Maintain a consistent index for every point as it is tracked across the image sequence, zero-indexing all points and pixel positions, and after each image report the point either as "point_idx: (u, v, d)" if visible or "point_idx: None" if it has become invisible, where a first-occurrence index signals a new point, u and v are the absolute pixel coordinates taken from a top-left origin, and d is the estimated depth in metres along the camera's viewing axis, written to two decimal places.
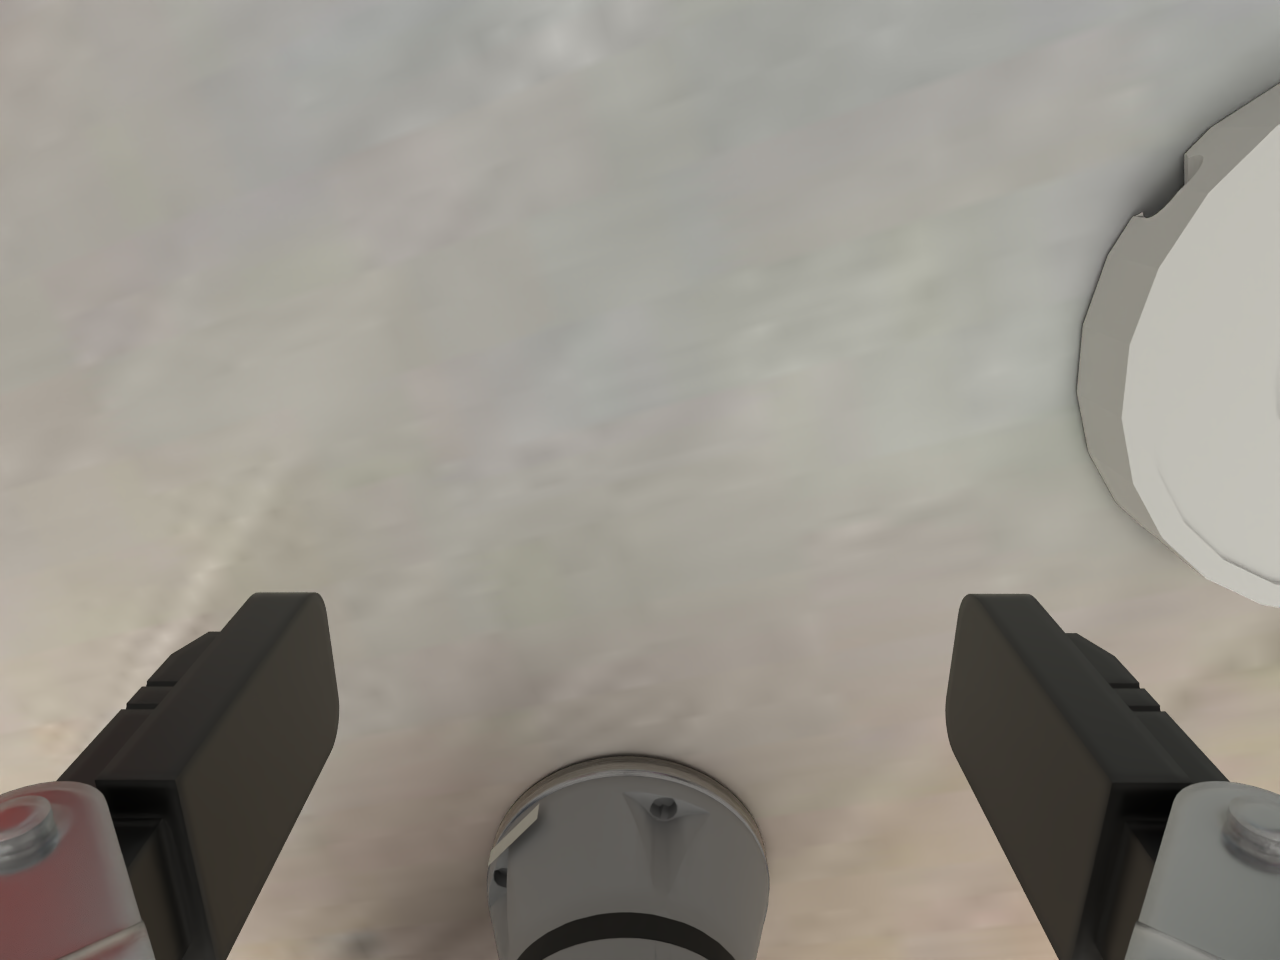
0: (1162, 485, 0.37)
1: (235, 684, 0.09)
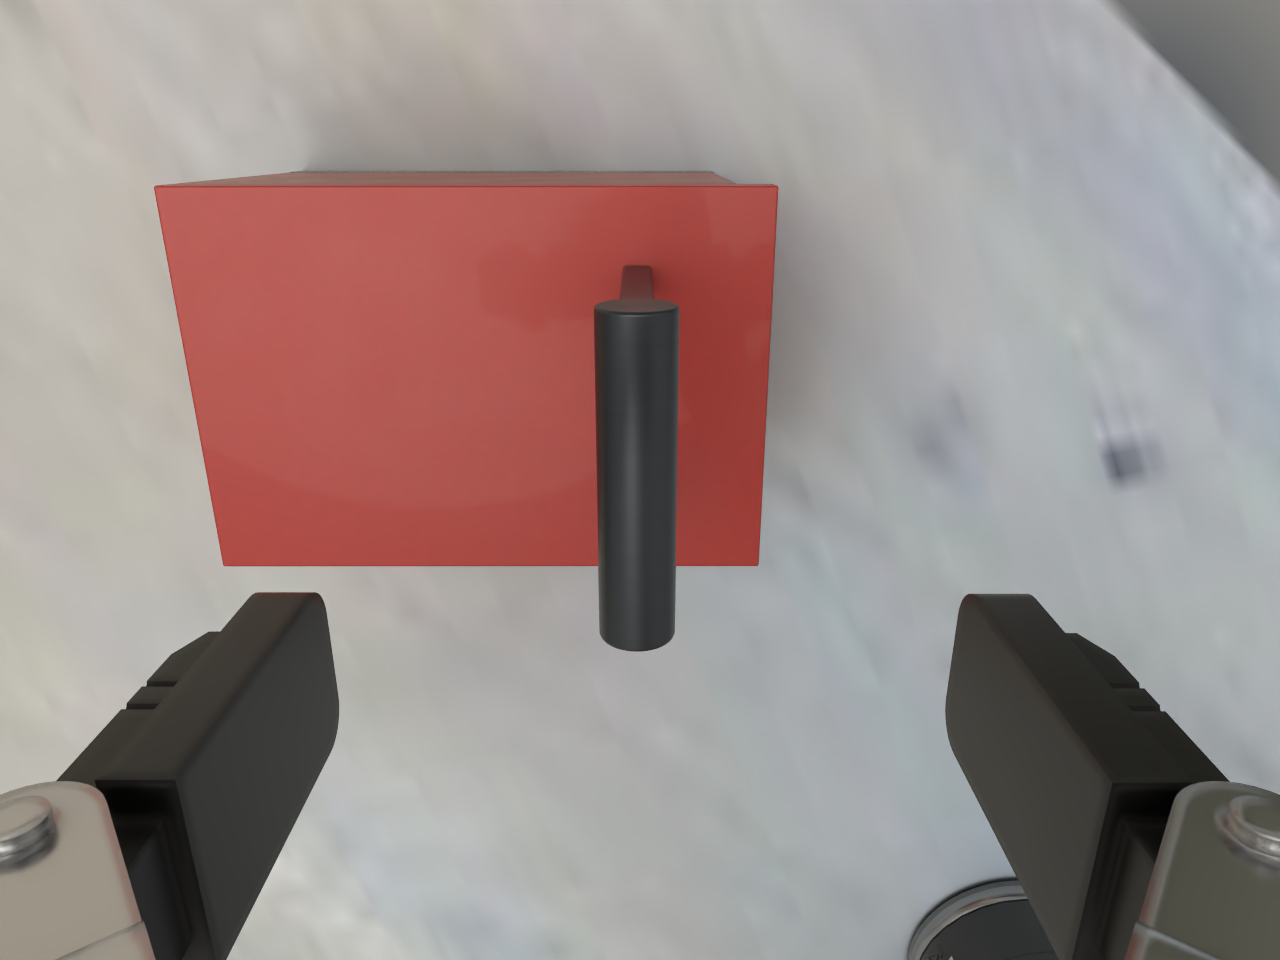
0: None
1: (235, 684, 0.09)
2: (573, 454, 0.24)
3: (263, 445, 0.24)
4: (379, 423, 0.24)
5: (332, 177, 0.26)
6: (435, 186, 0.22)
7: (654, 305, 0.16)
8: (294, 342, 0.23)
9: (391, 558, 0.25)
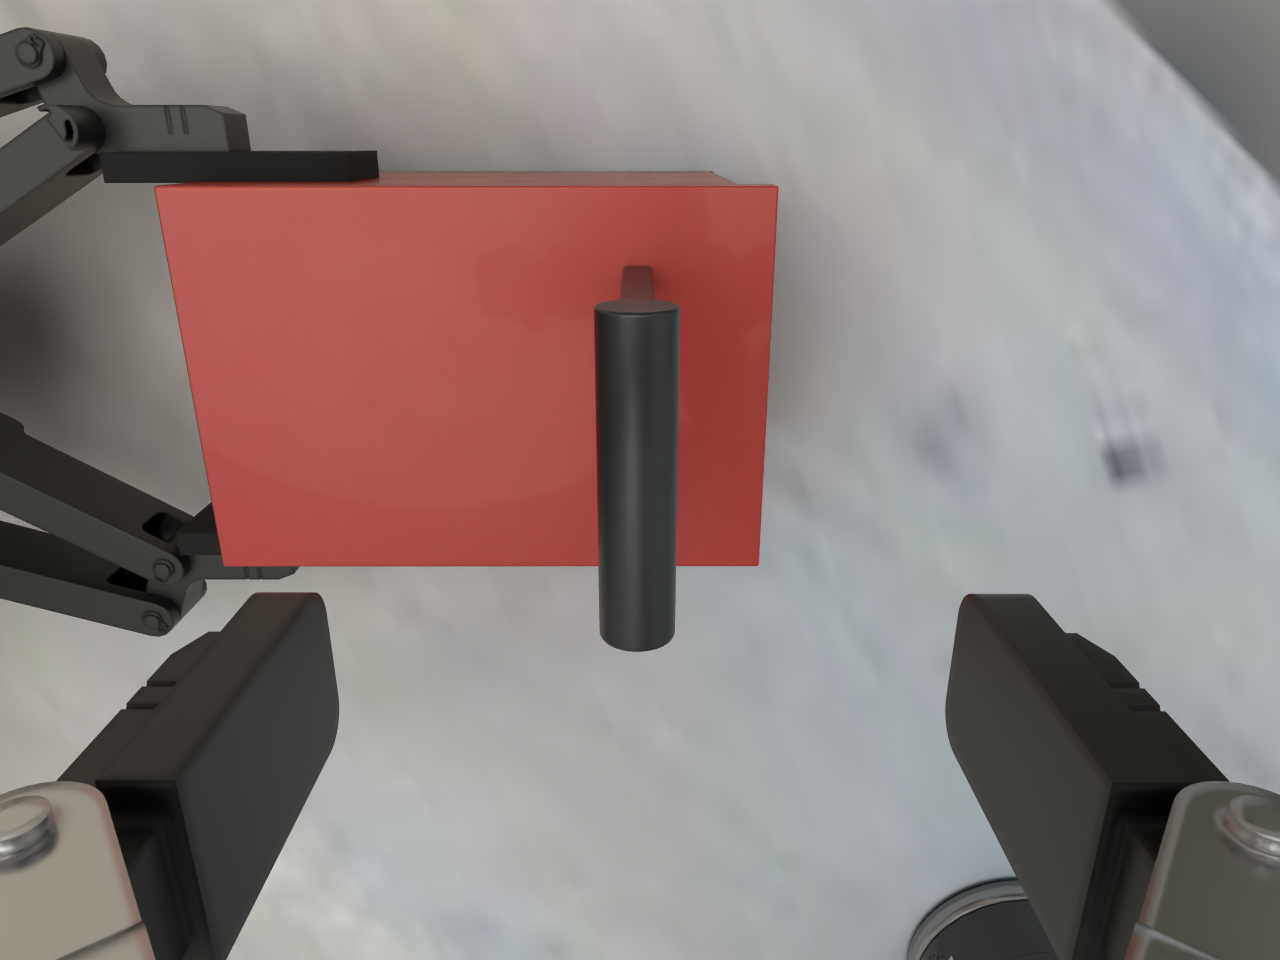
0: None
1: (235, 684, 0.09)
2: (573, 454, 0.24)
3: (263, 445, 0.24)
4: (380, 422, 0.24)
5: None
6: (435, 186, 0.22)
7: (654, 305, 0.16)
8: (294, 342, 0.23)
9: (391, 558, 0.25)
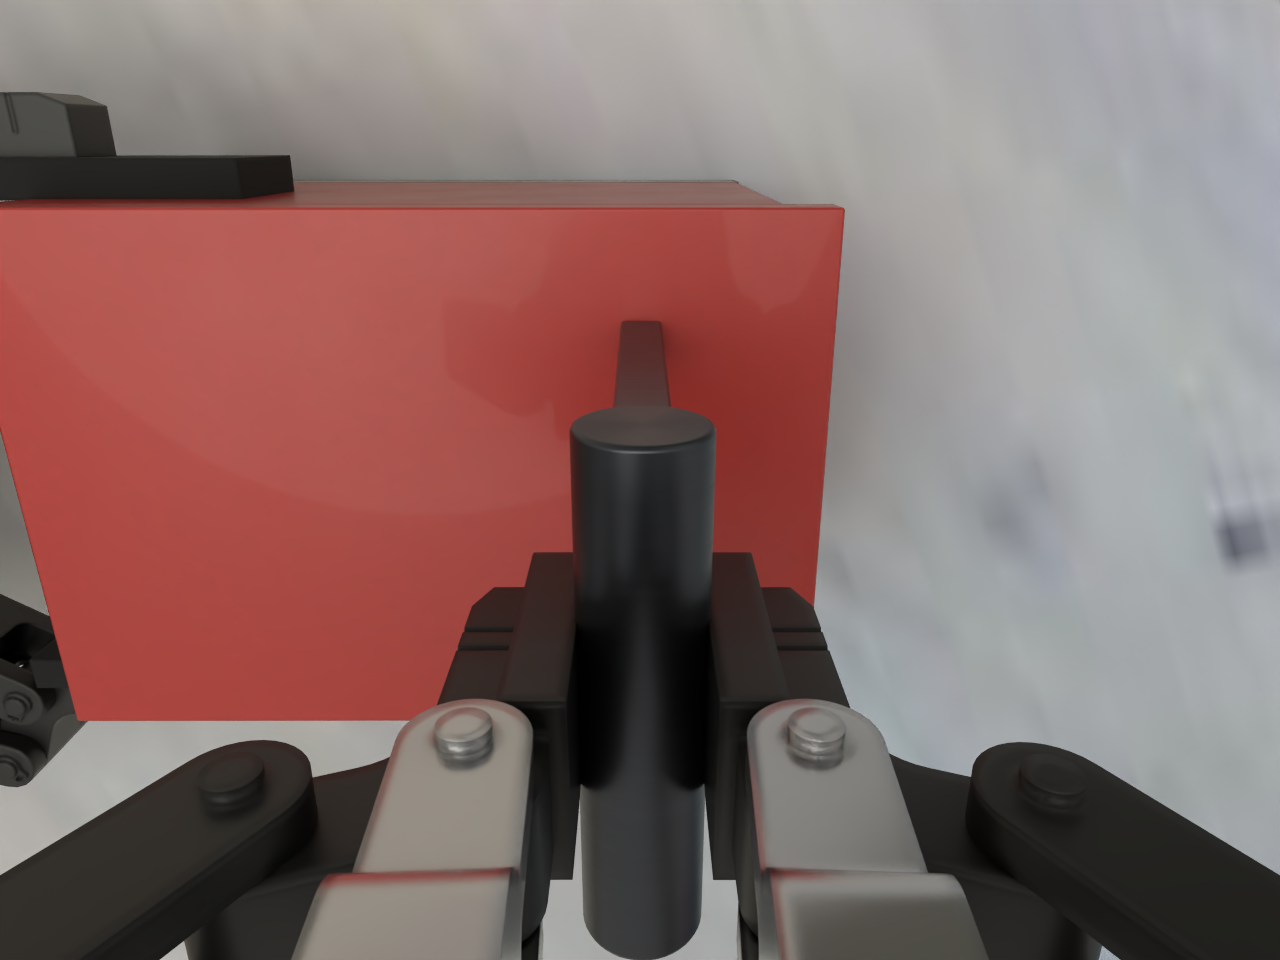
0: None
1: (567, 626, 0.10)
2: None
3: (122, 564, 0.17)
4: (282, 535, 0.17)
5: None
6: (349, 208, 0.15)
7: (673, 425, 0.09)
8: (156, 426, 0.16)
9: (305, 710, 0.18)
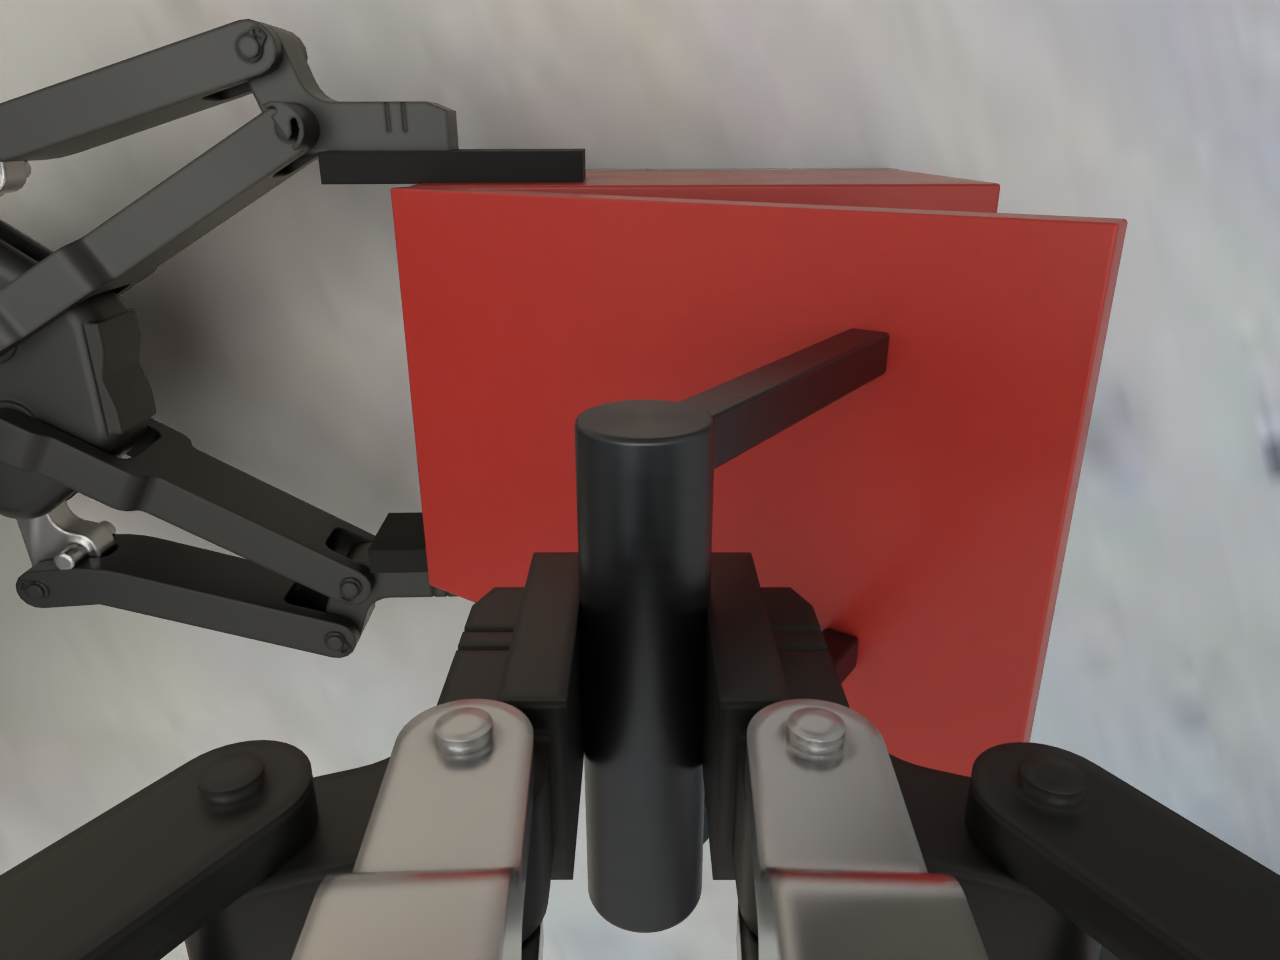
0: None
1: (568, 626, 0.10)
2: (763, 570, 0.17)
3: (463, 473, 0.22)
4: (562, 475, 0.20)
5: None
6: (632, 200, 0.17)
7: (666, 423, 0.10)
8: (492, 368, 0.20)
9: None
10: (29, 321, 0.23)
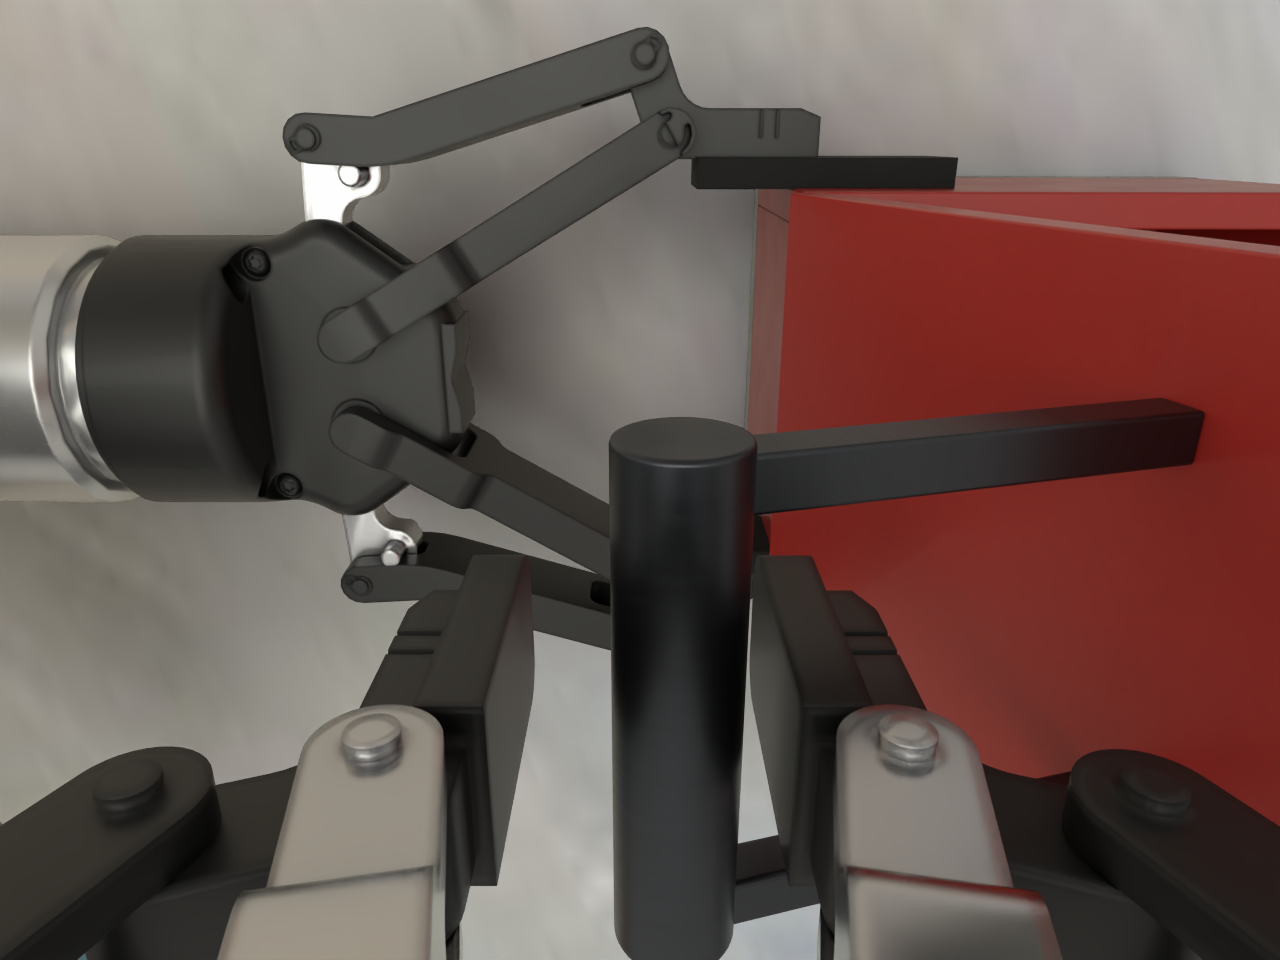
0: None
1: (496, 630, 0.10)
2: (1028, 673, 0.14)
3: None
4: (872, 506, 0.19)
5: None
6: (968, 216, 0.15)
7: (688, 446, 0.09)
8: (835, 382, 0.20)
9: None
10: (399, 321, 0.23)
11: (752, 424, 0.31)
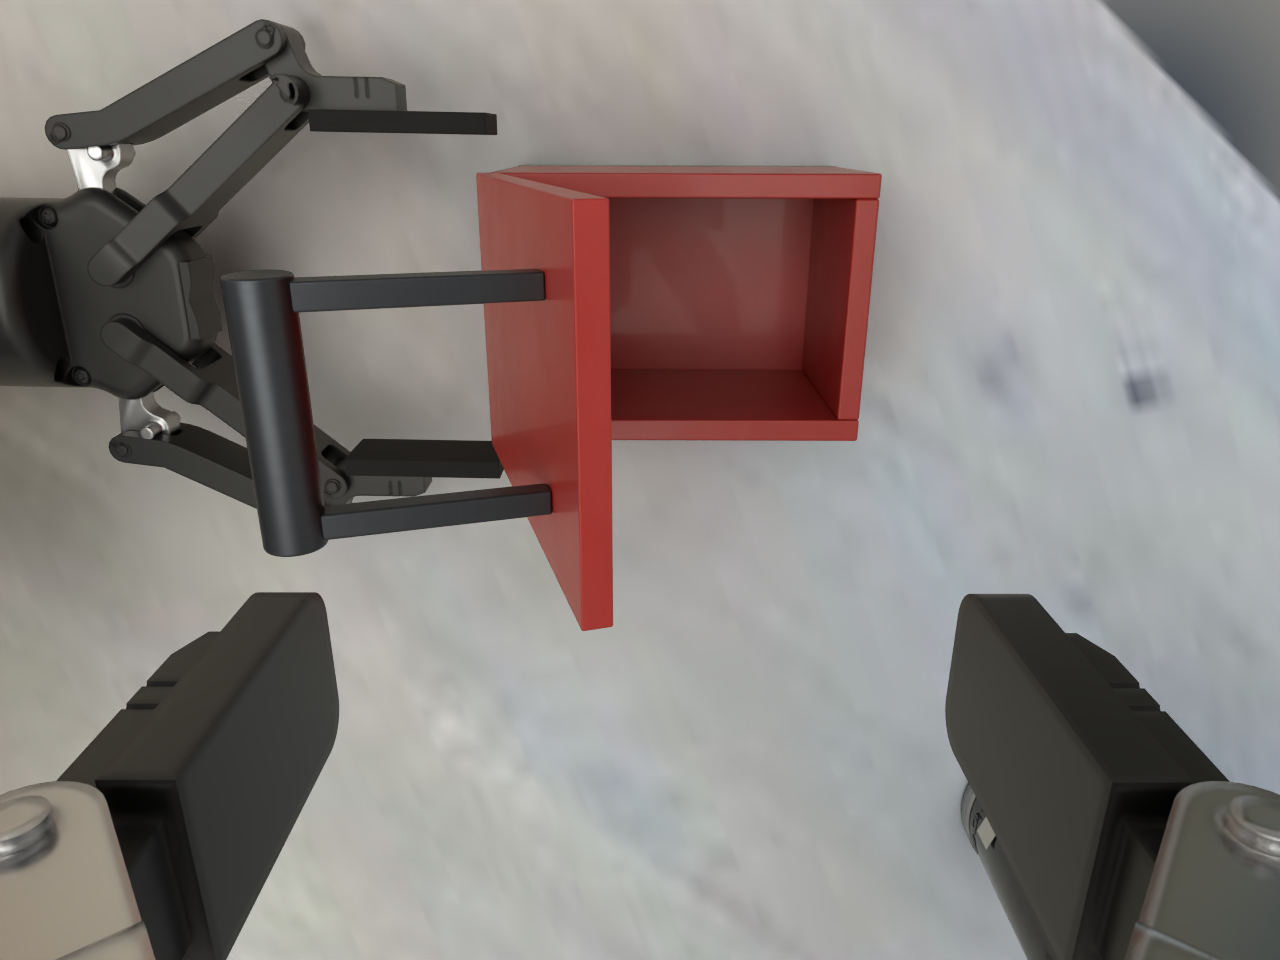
0: None
1: (235, 684, 0.09)
2: (536, 440, 0.25)
3: (493, 365, 0.33)
4: (506, 368, 0.30)
5: None
6: (508, 181, 0.26)
7: (253, 276, 0.20)
8: None
9: (511, 479, 0.31)
10: (141, 251, 0.34)
11: None
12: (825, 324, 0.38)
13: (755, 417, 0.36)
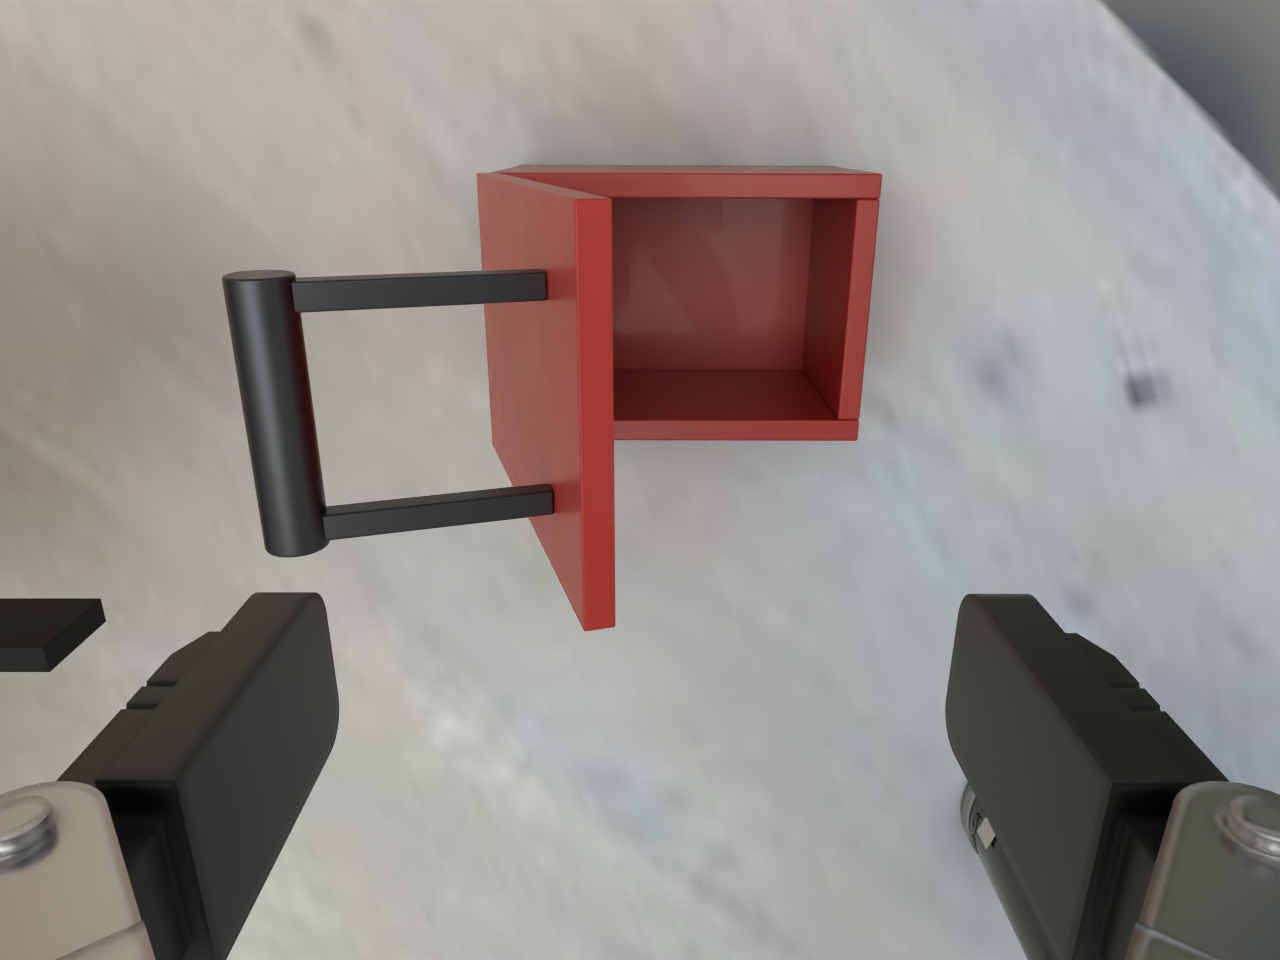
0: None
1: (235, 684, 0.09)
2: (538, 440, 0.25)
3: (493, 365, 0.33)
4: (507, 369, 0.29)
5: None
6: (509, 182, 0.26)
7: (255, 276, 0.20)
8: None
9: (512, 479, 0.31)
10: None
11: None
12: (825, 324, 0.38)
13: (755, 417, 0.36)
